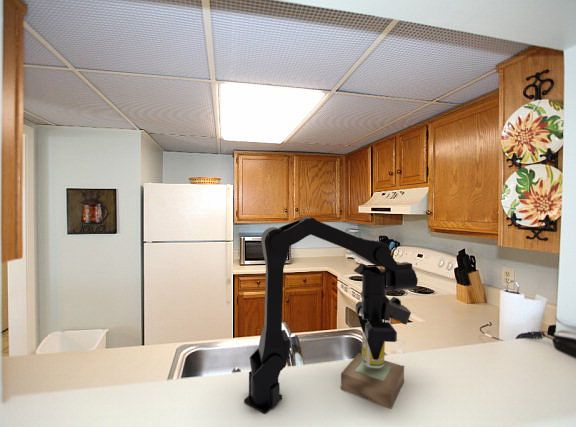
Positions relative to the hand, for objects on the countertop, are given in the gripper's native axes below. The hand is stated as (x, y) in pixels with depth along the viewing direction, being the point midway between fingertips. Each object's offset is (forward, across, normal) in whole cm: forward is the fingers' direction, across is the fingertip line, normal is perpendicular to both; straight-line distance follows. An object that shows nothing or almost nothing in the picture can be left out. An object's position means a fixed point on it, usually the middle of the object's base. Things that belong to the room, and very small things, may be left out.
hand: (373, 353), depth 71 cm
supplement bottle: (+3, 0, 0) cm, 3 cm away
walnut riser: (+8, 0, 0) cm, 8 cm away
